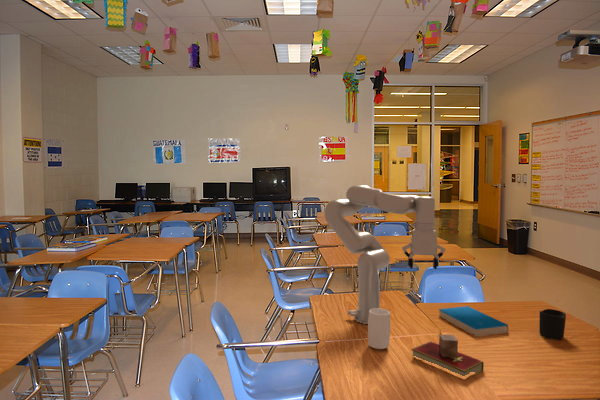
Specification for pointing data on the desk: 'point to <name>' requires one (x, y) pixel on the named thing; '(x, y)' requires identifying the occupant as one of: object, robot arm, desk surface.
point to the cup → (379, 328)
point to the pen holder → (552, 324)
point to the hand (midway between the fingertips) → (422, 268)
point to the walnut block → (448, 346)
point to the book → (473, 321)
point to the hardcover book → (448, 359)
